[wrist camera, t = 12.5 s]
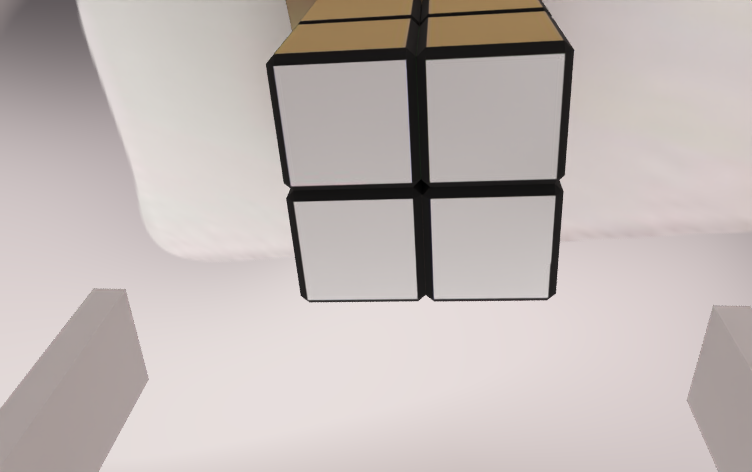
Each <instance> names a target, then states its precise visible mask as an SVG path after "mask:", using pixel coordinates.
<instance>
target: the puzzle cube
mask: <svg viewBox="0 0 752 472" xmlns="http://www.w3.org/2000/svg"><path fill="white" fill-rule="evenodd" d="M573 56H574V49H573V48H572V46H571V45H570V43H569V42H568V40H567V39H566V37H565V36H564V34H563V33H562V31H561V30H560V28H559V27H558V25H557V24H556V22H555V21H554V19H553V18H552V17H551V14H550V12H549V11H548V10H547V8H546V7H545V5H544V4H543V2H542V1H541V0H422V1H421V0H316V2H315V3H314V4H313V5H312V7H311V8H310V9H309V11H308V12H307V13H306V14H305V16H304V17H303V18H302V20H301V21H300V22H299V23H298V25H297V26H296V27H295V29H294V30H293V31H292V33H291V34H290V35H289V36H288V37H287V39H286V40H285V41H284V42H283V44H282V45H281V46H280V47H279V48H278V50H277V51H276V52H275V53H274V55H273V56H272V57H271V58H270V60H269V61H268V62H267V63H266V68H267V75H268V81H269V88H270V94H271V101H272V108H273V114H274V121H275V128H276V134H277V141H278V148H279V154H280V161H281V168H282V174H283V181H284V184H286V185H287V186H288V187H290V188H291V189H290V191H289V193H288V196H287V198H286V200H287V206H288V213H289V220H290V226H291V233H292V240H293V246H294V253H295V260H296V266H297V273H298V280H299V286H300V293H301V296H302V297H303V298H305V299H306V300H307V301H309V302H374V301H376V302H380V301H381V302H383V301H419V300H420V299H421V298H422V297H423V296H425V295H427V296H428V297H429V298H431V299H432V300H433V301H513V300H515V301H518V300H519V301H523V300H548V299H549V298H550V297H552V296H553V295H554V294H556V284H557V269H558V257H559V244H560V230H561V217H562V204H563V189H562V186H561V184H560V181H559V180H560V179H561V178H562V177H563V176H564V175H565V163H566V150H567V137H568V123H569V110H570V97H571V83H572V70H573Z"/></svg>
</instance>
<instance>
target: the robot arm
mask: <svg viewBox="0 0 752 472" xmlns="http://www.w3.org/2000/svg"><path fill="white" fill-rule="evenodd" d="M147 381H148V375H147V371H146V367H145V363H144V359H143V355H142V352H141V348H140V344H139V340H138V336H137V332H136V328H135V324H134V320H133V317H132V313H131V309H130V305H129V301H128V297H127V293H126V289H97V288H96V289H95V288H94V289H93V290H92V292H91V293H90V294H89V295H88V296H87V298H86V299H85V300H84V302H83V303H82V304H81V306H80V307H79V308H78V310H77V311H76V312H75V313H74V315H73V316H72V317H71V318H70V320H69V321H68V322H67V323H66V325H65V326H64V327H63V329H62V330H61V332H59V334H58V335H57V336H56V338H55V339H54V340H53V341H52V343H51V344H50V345H49V347H48V348H47V349H46V350H45V352H44V353H43V354H42V356H41V357H40V358H39V360H38V361H37V362H36V363H35V365H34V366H33V367H32V369H31V370H30V371H29V373H28V374H27V375H26V376H25V378H24V379H23V380H22V381H21V383H20V384H19V385H18V387H17V388H16V389H15V390H14V392H13V393H12V394H11V396H10V397H9V398H8V400H7V401H6V402H5V403H4V405H3V406H2V407H1V409H0V472H99V470H100V468H101V466H102V464H103V462H104V460H105V459H106V457H107V455H108V453H109V451H110V449H111V448H112V446H113V444H114V442H115V440H116V438H117V436H118V435H119V433H120V431H121V429H122V427H123V426H124V424H125V422H126V420H127V418H128V416H129V414H130V412H131V411H132V409H133V407H134V405H135V404H136V402H137V400H138V398H139V396H140V394H141V392H142V390H143V389H144V387H145V385H146V383H147ZM687 402H688V404H689V406H690V408H691V411H692V413H693V415H694V417H695V420H696V422H697V424H698V427H699V429H700V431H701V433H702V436H703V438H704V440H705V443H706V445H707V447H708V449H709V452H710V454H711V456H712V458H713V461H714V463H715V465H716V467H717V470H718V472H752V308H751V307H750V306H717V305H713V308H712V312H711V315H710V319H709V323H708V326H707V330H706V333H705V337H704V341H703V344H702V348H701V351H700V355H699V358H698V362H697V366H696V370H695V373H694V376H693V380H692V384H691V387H690V391H689V394H688V398H687Z"/></svg>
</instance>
